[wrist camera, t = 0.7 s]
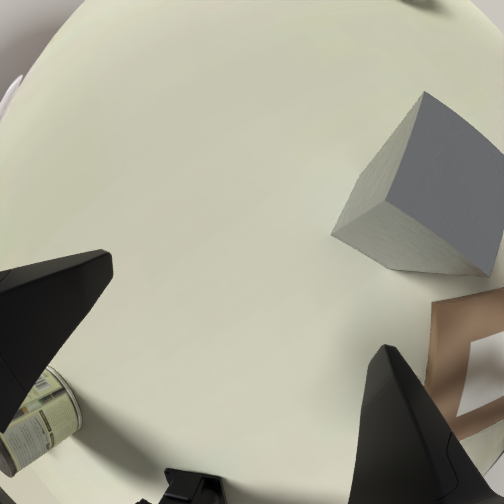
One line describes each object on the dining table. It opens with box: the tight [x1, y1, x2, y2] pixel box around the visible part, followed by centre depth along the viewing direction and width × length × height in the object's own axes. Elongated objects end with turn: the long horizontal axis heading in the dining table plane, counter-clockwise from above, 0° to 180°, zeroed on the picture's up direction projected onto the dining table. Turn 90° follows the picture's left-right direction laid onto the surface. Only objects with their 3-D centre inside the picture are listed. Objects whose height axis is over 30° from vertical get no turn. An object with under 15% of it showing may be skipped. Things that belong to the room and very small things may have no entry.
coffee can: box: [0, 366, 82, 478], centre depth 17 cm, size 10×10×14 cm
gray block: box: [330, 91, 504, 277], centre depth 14 cm, size 6×6×12 cm
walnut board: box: [424, 287, 504, 441], centre depth 17 cm, size 16×16×2 cm
